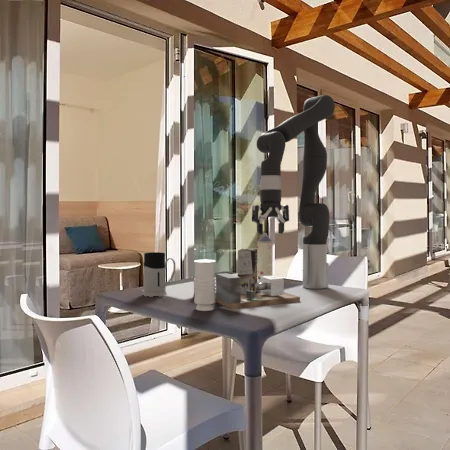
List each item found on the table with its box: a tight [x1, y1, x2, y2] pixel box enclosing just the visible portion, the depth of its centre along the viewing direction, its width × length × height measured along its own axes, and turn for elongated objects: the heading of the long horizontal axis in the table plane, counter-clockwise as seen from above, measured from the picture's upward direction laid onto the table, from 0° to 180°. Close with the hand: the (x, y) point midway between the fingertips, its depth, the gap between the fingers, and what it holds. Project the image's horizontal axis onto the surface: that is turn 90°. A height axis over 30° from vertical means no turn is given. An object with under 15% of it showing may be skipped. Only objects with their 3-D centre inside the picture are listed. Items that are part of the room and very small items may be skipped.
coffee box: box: [237, 248, 258, 295], centre depth 168 cm, size 9×6×16 cm
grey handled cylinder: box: [142, 251, 176, 298], centre depth 163 cm, size 9×14×15 cm, turn 55°
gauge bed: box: [215, 272, 301, 310], centre depth 152 cm, size 26×12×10 cm, turn 116°
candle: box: [193, 259, 216, 312], centre depth 141 cm, size 7×7×15 cm
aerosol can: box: [256, 232, 274, 279], centre depth 204 cm, size 7×7×20 cm
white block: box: [255, 275, 285, 296], centre depth 153 cm, size 8×7×6 cm
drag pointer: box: [246, 279, 254, 299], centre depth 146 cm, size 1×3×6 cm, turn 26°
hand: (270, 233), depth 162 cm, fingers open, 8 cm apart
